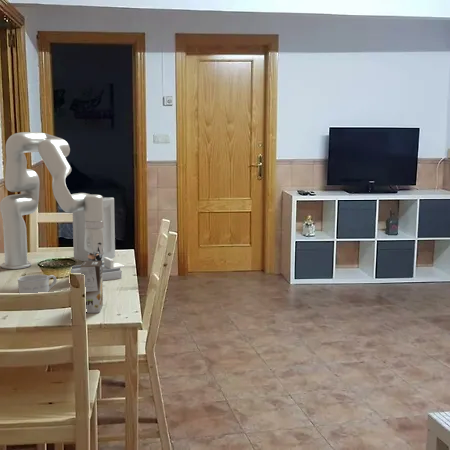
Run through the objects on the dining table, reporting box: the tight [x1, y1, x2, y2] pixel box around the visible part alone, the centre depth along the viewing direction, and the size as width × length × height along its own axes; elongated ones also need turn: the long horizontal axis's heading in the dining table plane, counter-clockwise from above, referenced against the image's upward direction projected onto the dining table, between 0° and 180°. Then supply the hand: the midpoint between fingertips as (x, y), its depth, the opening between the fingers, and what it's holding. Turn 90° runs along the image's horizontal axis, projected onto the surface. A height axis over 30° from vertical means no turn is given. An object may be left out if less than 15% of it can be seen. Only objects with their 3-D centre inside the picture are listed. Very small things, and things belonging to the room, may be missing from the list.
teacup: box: [17, 274, 58, 294], centre depth 229 cm, size 14×11×8 cm
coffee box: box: [80, 261, 104, 314], centre depth 215 cm, size 9×6×16 cm
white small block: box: [103, 257, 126, 269], centre depth 265 cm, size 7×6×4 cm
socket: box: [71, 261, 122, 281], centre depth 261 cm, size 16×16×4 cm
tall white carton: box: [72, 197, 116, 262], centre depth 292 cm, size 19×15×28 cm
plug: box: [88, 254, 99, 261], centre depth 261 cm, size 4×4×9 cm
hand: (95, 267), depth 261 cm, fingers open, 4 cm apart
